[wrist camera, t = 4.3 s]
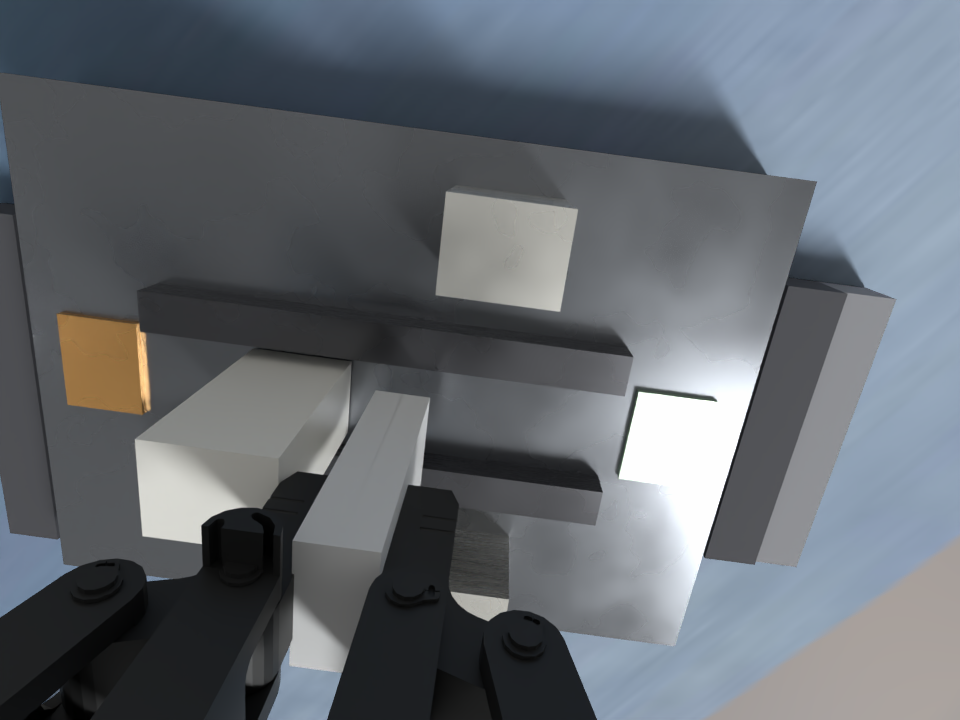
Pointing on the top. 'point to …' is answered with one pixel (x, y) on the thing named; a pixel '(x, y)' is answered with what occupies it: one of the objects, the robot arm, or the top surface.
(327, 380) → the lever
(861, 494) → the top surface
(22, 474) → the dark gray bar
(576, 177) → the panel
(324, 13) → the top surface
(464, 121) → the top surface
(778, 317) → the narrow gray bar
